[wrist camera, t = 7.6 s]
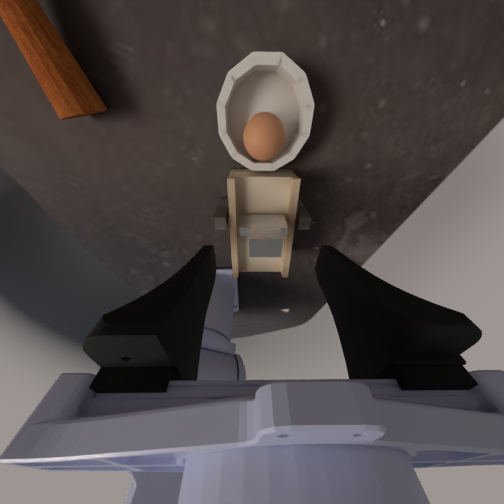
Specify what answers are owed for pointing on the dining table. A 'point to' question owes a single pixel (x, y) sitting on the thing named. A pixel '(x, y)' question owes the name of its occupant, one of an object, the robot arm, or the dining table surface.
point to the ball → (264, 136)
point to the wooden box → (261, 202)
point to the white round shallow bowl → (265, 105)
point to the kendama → (50, 59)
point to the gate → (264, 233)
